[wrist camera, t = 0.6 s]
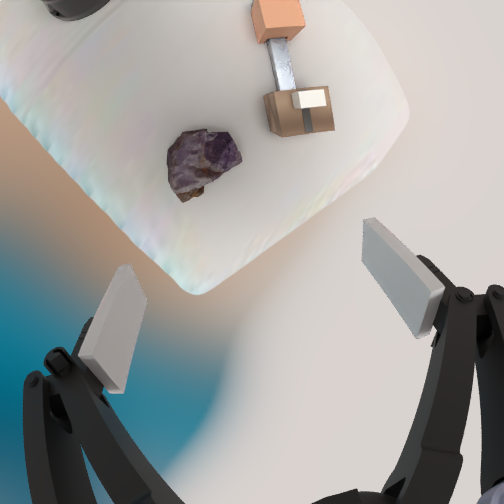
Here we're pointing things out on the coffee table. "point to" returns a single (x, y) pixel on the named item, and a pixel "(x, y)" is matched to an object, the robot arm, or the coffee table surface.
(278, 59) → the rail
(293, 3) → the block
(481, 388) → the robot arm
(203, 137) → the rock
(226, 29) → the coffee table surface
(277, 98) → the cabinet
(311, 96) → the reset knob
